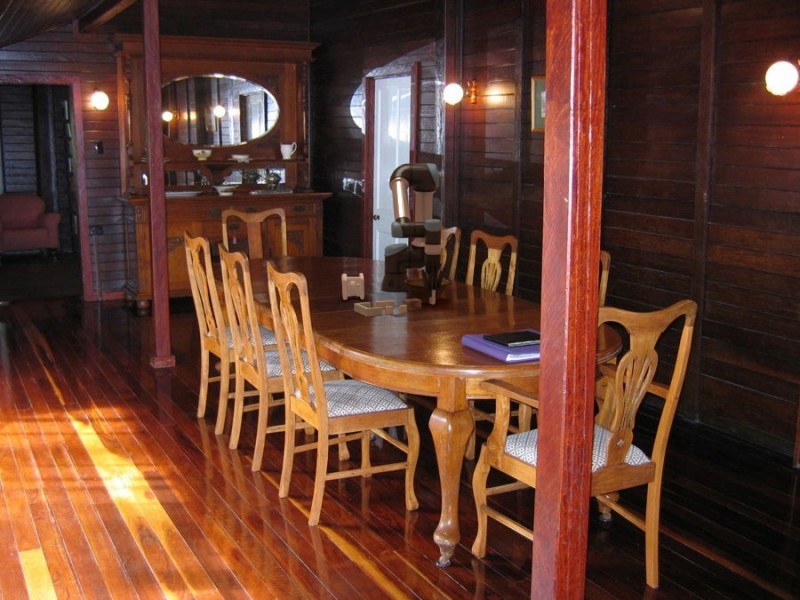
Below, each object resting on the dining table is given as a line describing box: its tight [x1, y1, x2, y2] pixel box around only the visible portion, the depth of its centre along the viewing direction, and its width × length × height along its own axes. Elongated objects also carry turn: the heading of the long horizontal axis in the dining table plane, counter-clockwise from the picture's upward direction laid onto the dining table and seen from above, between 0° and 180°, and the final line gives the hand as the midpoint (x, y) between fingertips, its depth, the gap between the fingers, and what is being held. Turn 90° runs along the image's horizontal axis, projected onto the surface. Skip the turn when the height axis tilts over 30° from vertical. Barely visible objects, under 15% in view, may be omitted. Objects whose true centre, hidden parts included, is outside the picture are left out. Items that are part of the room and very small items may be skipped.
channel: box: [373, 299, 408, 316], centre depth 419 cm, size 10×14×4 cm
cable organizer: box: [341, 272, 365, 301], centre depth 448 cm, size 15×11×12 cm
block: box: [401, 297, 422, 312], centre depth 423 cm, size 7×6×4 cm
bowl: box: [404, 277, 450, 304], centre depth 441 cm, size 22×23×10 cm
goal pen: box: [353, 301, 383, 318], centre depth 414 cm, size 8×14×4 cm, turn 26°
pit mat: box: [390, 313, 411, 318], centre depth 410 cm, size 7×6×1 cm
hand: (432, 303), depth 428 cm, fingers closed
